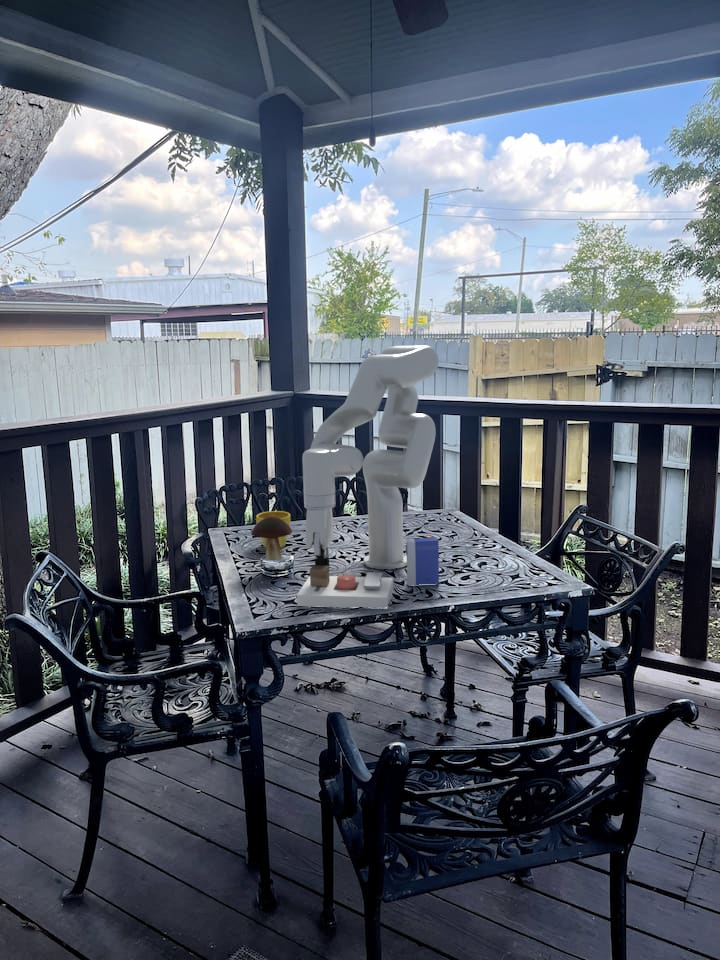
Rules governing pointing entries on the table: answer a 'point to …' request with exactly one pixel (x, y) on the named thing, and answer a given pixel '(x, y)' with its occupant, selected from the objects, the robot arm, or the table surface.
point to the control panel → (345, 594)
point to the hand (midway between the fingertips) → (322, 572)
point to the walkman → (422, 561)
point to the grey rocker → (373, 580)
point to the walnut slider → (319, 575)
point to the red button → (346, 582)
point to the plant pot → (279, 514)
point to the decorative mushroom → (272, 535)
